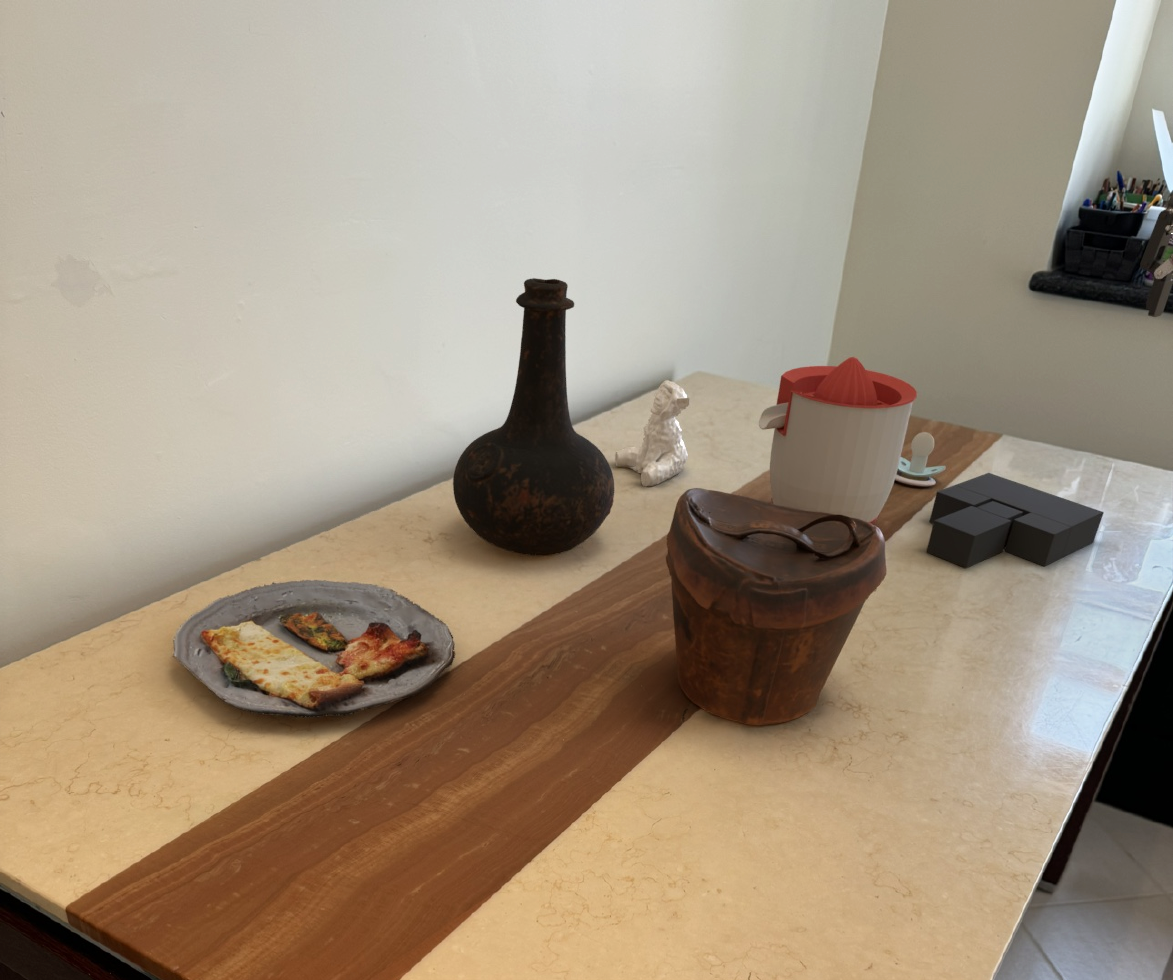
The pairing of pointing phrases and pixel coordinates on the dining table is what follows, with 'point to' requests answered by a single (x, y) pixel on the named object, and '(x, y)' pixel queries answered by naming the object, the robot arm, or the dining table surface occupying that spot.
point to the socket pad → (1026, 516)
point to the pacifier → (918, 463)
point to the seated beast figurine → (659, 439)
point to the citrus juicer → (837, 438)
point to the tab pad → (972, 533)
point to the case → (764, 601)
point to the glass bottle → (536, 449)
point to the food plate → (314, 648)
